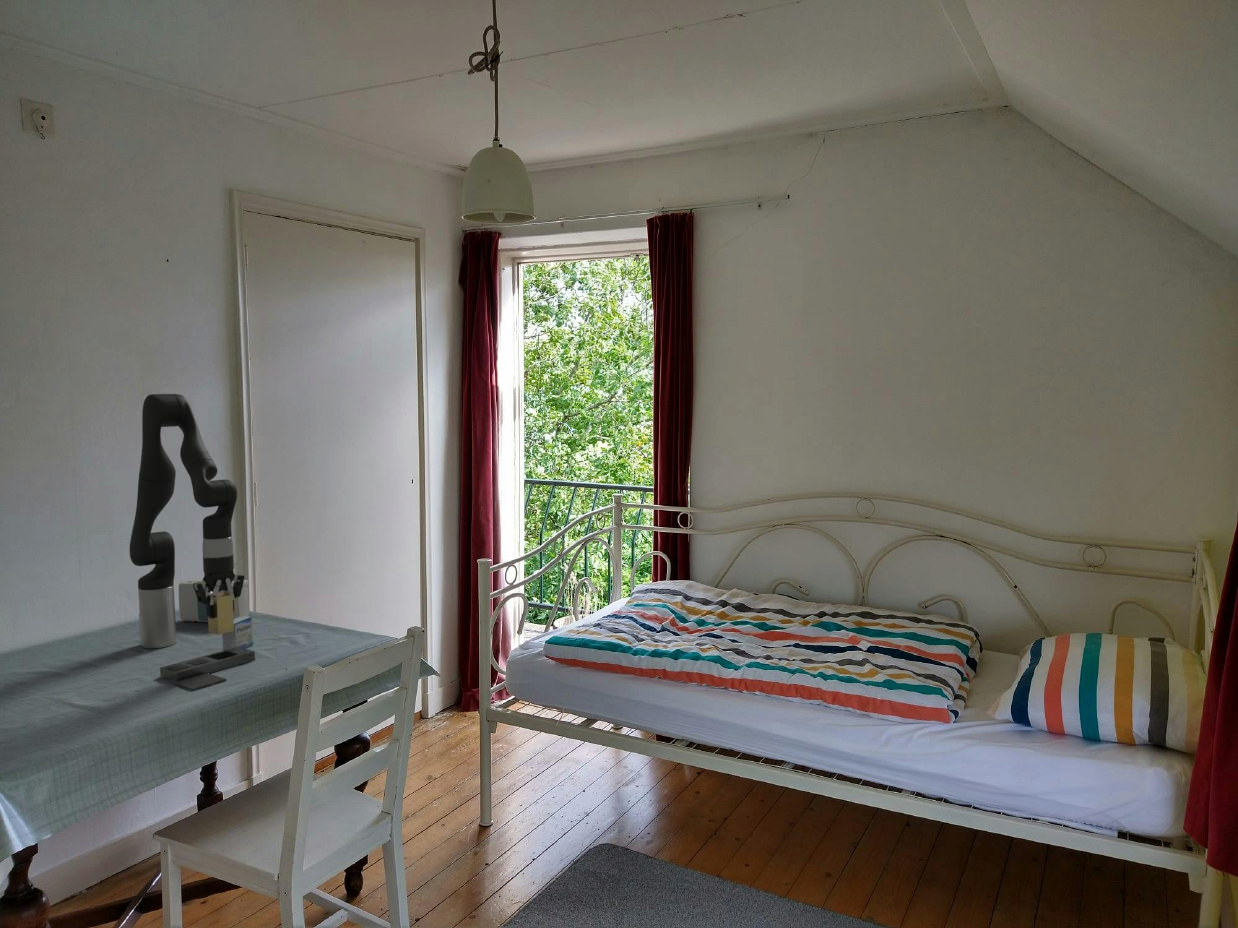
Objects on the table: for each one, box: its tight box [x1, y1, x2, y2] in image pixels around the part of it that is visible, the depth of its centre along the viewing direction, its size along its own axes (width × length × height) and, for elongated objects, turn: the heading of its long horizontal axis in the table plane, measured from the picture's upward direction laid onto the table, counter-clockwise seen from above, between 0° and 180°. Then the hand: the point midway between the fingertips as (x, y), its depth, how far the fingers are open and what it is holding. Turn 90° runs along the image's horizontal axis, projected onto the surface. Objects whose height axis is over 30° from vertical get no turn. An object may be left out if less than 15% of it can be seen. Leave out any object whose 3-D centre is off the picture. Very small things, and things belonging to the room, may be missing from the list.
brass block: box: [207, 593, 234, 636], centre depth 235 cm, size 4×4×10 cm
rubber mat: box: [172, 673, 227, 692], centre depth 221 cm, size 9×9×1 cm
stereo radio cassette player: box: [178, 559, 250, 623], centre depth 281 cm, size 21×8×20 cm, turn 80°
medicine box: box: [221, 616, 254, 651], centre depth 250 cm, size 8×4×9 cm, turn 168°
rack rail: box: [159, 647, 256, 682], centre depth 232 cm, size 8×22×3 cm, turn 147°
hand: (220, 615), depth 235 cm, fingers closed on brass block, 4 cm apart
